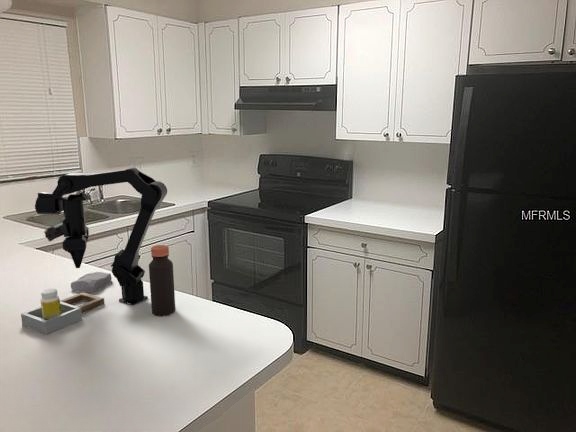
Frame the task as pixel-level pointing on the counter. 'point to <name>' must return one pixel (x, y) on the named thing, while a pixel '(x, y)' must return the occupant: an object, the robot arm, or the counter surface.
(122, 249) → the robot arm
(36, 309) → the tray
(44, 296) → the supplement bottle
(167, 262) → the vinegar
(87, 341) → the counter surface
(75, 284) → the stone block
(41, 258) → the counter surface
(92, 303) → the holder ring
